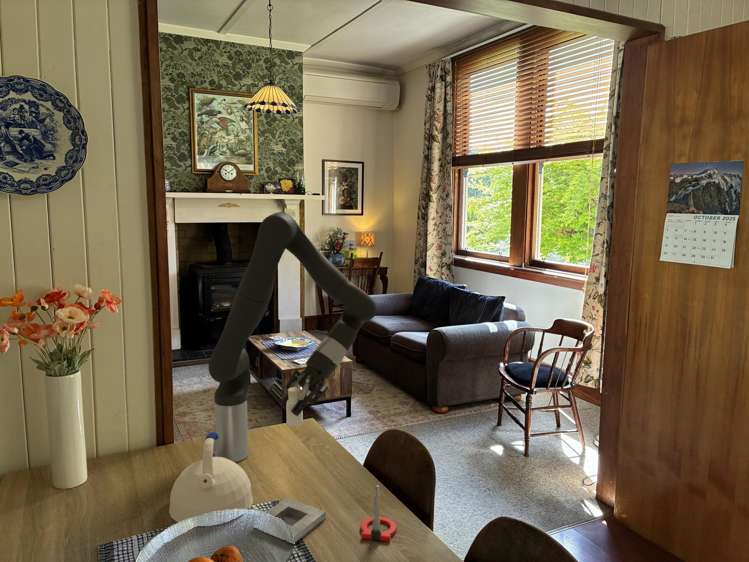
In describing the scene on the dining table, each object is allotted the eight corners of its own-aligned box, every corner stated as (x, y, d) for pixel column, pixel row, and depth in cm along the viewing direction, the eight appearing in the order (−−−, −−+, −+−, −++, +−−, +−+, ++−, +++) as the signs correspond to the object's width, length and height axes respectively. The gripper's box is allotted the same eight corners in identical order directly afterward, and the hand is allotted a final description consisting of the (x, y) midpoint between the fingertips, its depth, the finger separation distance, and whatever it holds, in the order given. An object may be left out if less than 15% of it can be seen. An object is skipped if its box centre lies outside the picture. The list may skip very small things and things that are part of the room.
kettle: (160, 532, 130) (157, 458, 128) (177, 487, 151) (174, 422, 148) (250, 525, 134) (248, 453, 131) (255, 481, 154) (253, 418, 151)
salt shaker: (302, 426, 146) (301, 391, 145) (286, 427, 146) (285, 392, 145) (302, 420, 150) (302, 386, 149) (287, 421, 150) (287, 386, 149)
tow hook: (364, 519, 137) (357, 540, 128) (365, 468, 136) (358, 485, 127) (398, 522, 136) (393, 544, 127) (400, 471, 135) (395, 489, 126)
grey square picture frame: (253, 528, 132) (253, 520, 132) (287, 504, 142) (287, 497, 142) (293, 545, 126) (293, 536, 126) (325, 519, 136) (325, 511, 136)
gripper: (303, 343, 155) (265, 395, 150) (333, 355, 144) (293, 411, 139) (320, 359, 160) (283, 409, 154) (350, 372, 149) (312, 426, 143)
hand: (288, 410), depth 146 cm, fingers closed on salt shaker, 5 cm apart
